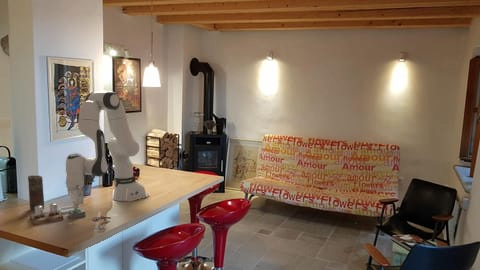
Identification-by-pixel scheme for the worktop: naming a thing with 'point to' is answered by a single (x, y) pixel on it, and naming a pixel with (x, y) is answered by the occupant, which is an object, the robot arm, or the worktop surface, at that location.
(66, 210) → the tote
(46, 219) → the wooden holder frame
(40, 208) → the seated billet
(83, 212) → the grey square holed block
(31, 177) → the brown rounded piece
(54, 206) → the cylinder
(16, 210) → the worktop surface
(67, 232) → the worktop surface
